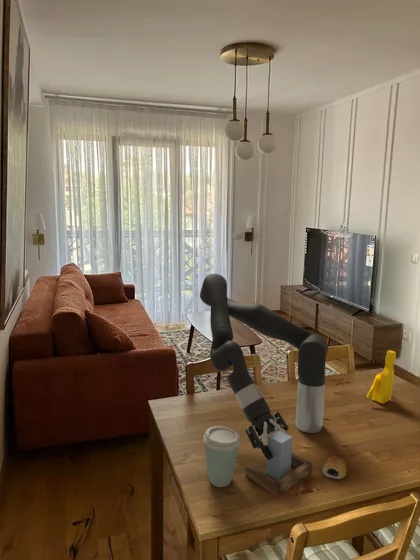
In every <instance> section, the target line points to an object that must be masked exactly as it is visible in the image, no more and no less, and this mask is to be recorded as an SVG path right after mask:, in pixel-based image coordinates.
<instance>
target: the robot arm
mask: <svg viewBox="0 0 420 560" xmlns="http://www.w3.org/2000/svg"><path fill="white" fill-rule="evenodd" d="M199 298H200V300H201V301H202V302H203V303H204V304H205V305H207V306H209V307H210V319H209V322H210V331H211V338H212V340H211V346H210V347H211V348H210V354H209V356H210V363H211V364H212V366H213V368H215V370H217V371H219V372H224V371H227V370H228V369H229V368H231V367H232V372H231V373H230V375H229V376H228V377H227V381H228V385H229V386H230V389H231V390H232V392H233V393H234V396H235V398H236V401H237V403H238V405H239V406H240V408H241V410H242V413H243V414H244V416H245V417H246V420H247V421H248V423H251V425H250V426H248V427H246V428H245V429H244V431H245V433H246V436H247V437H248V439H249V442H250V444H251V446H252V448H253V449H260V451H261V452H262V453H263V456H264V457H265V459H266V460H267V459H268V460H270V459H272V458H273V457H274V456H273V454H272V452H271V450H270V449H269V447H268V444H267V439H268V436H269V435H271V434H273V433H275V432H277V431H278V430H279V431H281V432H283V433H285V434H287V431H288V430H289V426H288V424H287V423H286V421H285V419H284V418H283V417H282V415H281V413H280V412H279V411H277V412H275V413H274V414H272V413H271V408H270V407H269V405H268V403H267V401H266V399H265V397H264V395H263V394H262V392H261V391H260V389H259V388H258V386H257V385H256V383H255V381H254V380H253V378H252V376H251V374H250V373H249V370H248V367H247V363H246V359H245V355H244V352H243V349H242V347H241V346H240V345H239V343H238V342H236V341H235V340H234V333H233V328H232V323H231V319H230V317H232V318H233V319H236V320H237V321H239V322H240V323H243V324H244V325H246V326H247V327H249V328H251V329H252V330H254V331H256V332H257V333H259V334H260V335H263V336H266V337H269V338H272V339H275V340H279V341H283V342H285V343H287V344H290V345H291V346H293V347H294V348H296V349H298V353H297V354H298V357H297V376H298V379H297V393H296V395H297V396H296V410H295V411H296V413H295V427H296V428H297V430H299V431H301V432H304V433H309V434H313V433H314V434H316V433H319V432H321V430H322V427H323V426H324V415H325V414H324V412H325V388H326V387H325V385H326V361H327V356H328V352H329V344H328V342H327V341H326V339H324V337H323V336H321V335H318V334H317V333H314V332H312V331H310V330H308V329H305V328H303V327H302V326H301V327H300V326H298V325H297V324H295V323H294V322H292V321H290V320H288V319H286V318H285V317H284V316H282V315H280V314H278V313H277V312H275V311H273V310H271V309H270V308H269V307H266V306H264V305H263V304H260V303H255V302H253V303H252V302H238V301H235V300H233V299H231V298H229V297H228V282H227V280H226V278H225V277H224V276H222V274H218V273H209V274H208V275H206V276H205V277H204V280H203V282H202V286H201V288H200V294H199Z"/></svg>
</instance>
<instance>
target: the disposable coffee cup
mask: <svg viewBox="0 0 420 560" xmlns="http://www.w3.org/2000/svg"><path fill="white" fill-rule="evenodd" d="M204 432H205V433H204V434H203V435H202V436H203V438H202V440H203V444H204V448H205V449H204V451H205V458H206V466H207V467H206V468H207V474H208V479H209V483H210V484H212V485H213V486H215V487H218V488H222V487H224V488H225V487H227V486H229V485H230V484H231V482H232V480H233V477H234V473H235V466H236V462H237V457H238V453H239V449H240V445H241V442H242V440H241V437H240V434H239V432H237V431H236V430H235V429H233V428H232V427H228V426H224V425H213V426H211V427H208V428H207V429H206V430H205V431H204Z"/></svg>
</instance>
